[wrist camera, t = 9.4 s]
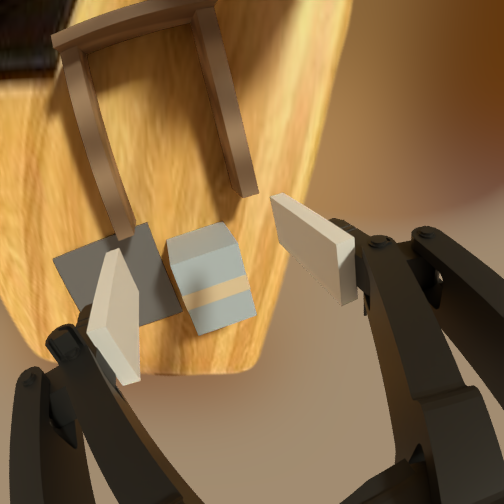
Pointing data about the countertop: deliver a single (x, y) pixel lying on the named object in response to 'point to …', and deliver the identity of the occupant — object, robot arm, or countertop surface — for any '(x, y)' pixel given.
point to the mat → (139, 264)
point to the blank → (211, 277)
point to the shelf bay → (215, 75)
